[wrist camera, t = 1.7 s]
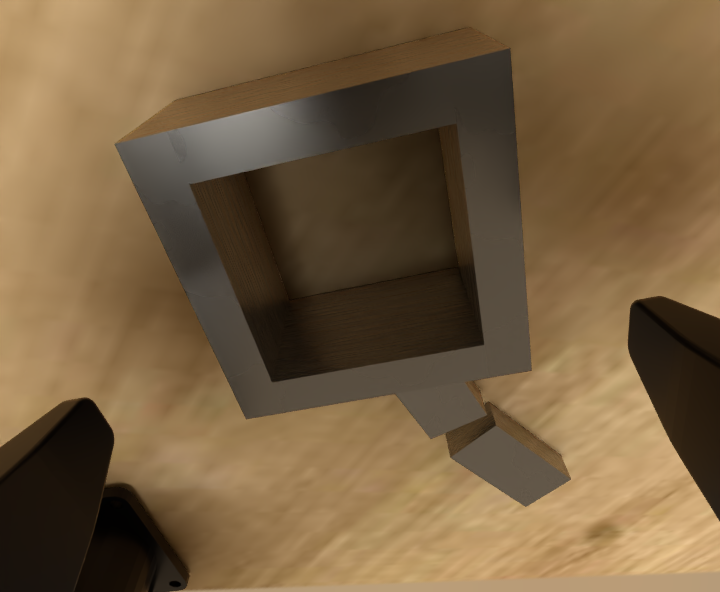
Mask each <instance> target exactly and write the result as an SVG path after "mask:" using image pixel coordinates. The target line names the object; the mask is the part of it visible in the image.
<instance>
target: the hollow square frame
mask: <svg viewBox="0 0 720 592" xmlns="http://www.w3.org/2000/svg"><path fill="white" fill-rule="evenodd" d="M434 128H438V130H439V137H440V144H441V151H442V158H443V164H444V171H445V178H446V185H447V192H448V199H449V206H450V213H451V220H452V227H453V234H454V241H455V248H456V255H457V261H458V267H457V268H451V269H446V270H441V271H436V272H431V273H426V274H421V275H416V276H411V277H406V278H400V279H395V280H390V281H385V282H380V283H375V284H370V285H365V286H360V287H355V288H349V289H344V290H339V291H334V292H329V293H324V294H319V295H314V296H309V297H304V298H298V299H293V300H289V298H288V296H287V293H286V290H285V287H284V284H283V282H282V279H281V276H280V273H279V270H278V268H277V265H276V262H275V259H274V256H273V254H272V251H271V248H270V245H269V242H268V240H267V237H266V234H265V231H264V228H263V225H262V223H261V220H260V217H259V214H258V211H257V209H256V206H255V203H254V200H253V197H252V195H251V192H250V189H249V186H248V183H247V181H246V178H245V175H244V172H246V171H250V170H255V169H259V168H263V167H268V166H272V165H277V164H281V163H285V162H290V161H294V160H299V159H303V158H307V157H312V156H316V155H320V154H325V153H329V152H334V151H338V150H342V149H347V148H351V147H355V146H360V145H364V144H369V143H373V142H377V141H382V140H386V139H391V138H395V137H399V136H404V135H408V134H412V133H417V132H421V131H426V130H430V129H434ZM115 146H116V148H117V150H118V152H119V154H120V157H121V159H122V161H123V163H124V165H125V167H126V169H127V171H128V173H129V175H130V177H131V180H132V182H133V184H134V186H135V188H136V190H137V192H138V194H139V196H140V198H141V200H142V203H143V205H144V207H145V209H146V211H147V213H148V215H149V217H150V219H151V221H152V223H153V226H154V228H155V230H156V232H157V234H158V236H159V238H160V240H161V242H162V244H163V246H164V249H165V251H166V253H167V255H168V257H169V259H170V261H171V263H172V265H173V267H174V269H175V272H176V274H177V276H178V278H179V280H180V282H181V284H182V286H183V288H184V290H185V292H186V295H187V297H188V299H189V301H190V303H191V305H192V307H193V309H194V311H195V313H196V315H197V318H198V320H199V322H200V324H201V326H202V328H203V330H204V332H205V334H206V336H207V338H208V341H209V343H210V345H211V347H212V349H213V351H214V353H215V355H216V357H217V359H218V361H219V364H220V366H221V368H222V370H223V372H224V374H225V376H226V378H227V380H228V382H229V384H230V387H231V389H232V391H233V393H234V395H235V397H236V399H237V401H238V403H239V405H240V407H241V410H242V412H243V414H244V416H245V418H246V419H250V418H256V417H262V416H268V415H274V414H280V413H286V412H291V411H297V410H303V409H309V408H315V407H321V406H327V405H332V404H338V403H344V402H350V401H356V400H362V399H368V398H374V397H379V396H385V395H391V394H397V393H403V392H409V391H415V390H421V389H426V388H432V387H438V386H444V385H450V384H456V383H462V382H467V381H473V380H479V379H485V378H491V377H497V376H503V375H509V374H514V373H520V372H526V371H532V368H531V353H530V338H529V323H528V308H527V293H526V278H525V263H524V248H523V233H522V218H521V203H520V188H519V173H518V158H517V143H516V128H515V112H514V97H513V82H512V67H511V52H510V48H509V47H507V46H505V45H503V44H501V43H499V42H497V41H496V40H494V39H492V38H490V37H488V36H486V35H484V34H482V33H480V32H478V31H477V30H475V29H473V28H471V27H468V28H464V29H460V30H456V31H452V32H448V33H444V34H440V35H436V36H432V37H428V38H424V39H420V40H416V41H412V42H408V43H404V44H400V45H396V46H392V47H388V48H384V49H380V50H376V51H372V52H368V53H364V54H360V55H356V56H352V57H347V58H343V59H339V60H335V61H331V62H327V63H323V64H319V65H315V66H311V67H307V68H303V69H299V70H295V71H291V72H287V73H283V74H279V75H275V76H271V77H267V78H263V79H259V80H255V81H251V82H247V83H243V84H239V85H235V86H231V87H227V88H223V89H219V90H215V91H211V92H207V93H203V94H199V95H195V96H191V97H187V98H183V99H179V100H175V101H173V102H172V103H171V104H169V105H168V106H166V107H165V108H164V109H162V110H161V111H159V112H158V113H157V114H155V115H154V116H153V117H151V118H150V119H148V120H147V121H146V122H144V123H143V124H141V125H140V126H139V127H137V128H136V129H135V130H133V131H132V132H130V133H129V134H128V135H126V136H125V137H123V138H122V139H121V140H119V141H118V142H117V143H115Z"/></svg>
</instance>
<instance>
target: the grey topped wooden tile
mask: <svg viewBox="0 0 720 592" xmlns="http://www.w3.org/2000/svg"><path fill="white" fill-rule="evenodd" d="M396 395H397V397H398V398H399V399H400V401H401V402H402V403H403V404H404V406H405V407H406V408H407V409H408V411H409V412H410V413H411V414H412V416H413V417H414V418H415V419H416V421H417V422H418V423H419V425H420V426H421V427H422V428H423V430H424V431H425V432H426V433H427V435H428V436H429V437H430V438H431V439H432V438H435V437H437V436H439V435H442V434H444V433H446V432H449V431H451V430H453V429H456V428H458V427H460V426H463V425H465V424H468V423H470V422H472V421H475V420H477V419H479V418H482V417H484V416H486V415H487V413H486V410H485V407H484V403H483V400H482V397H481V393H480V391H479V390H478V388H477V387H476V385H475V384H474V382H473V381H467V382H462V383H456V384H450V385H444V386H438V387H432V388H426V389H421V390H415V391H409V392H403V393H397V394H396Z"/></svg>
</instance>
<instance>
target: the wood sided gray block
mask: <svg viewBox="0 0 720 592" xmlns="http://www.w3.org/2000/svg"><path fill="white" fill-rule="evenodd" d="M484 407H485V410H486V413H487V415H486V416H484V417H482V418H479V419H477V420H475V421H472V422H470V423H468V424H465V425H463V426H460V427H458V428H456V429H453V430H451V431H449V432H446V438H447V443H448V448H449V453H450V458H452V459H453V460H455V461H456V462H458V463H459V464H461V465H462V466H464V467H466V468H467V469H469V470H470V471H472V472H473V473H475V474H476V475H478V476H479V477H481V478H482V479H484V480H485V481H487V482H488V483H490V484H492V485H493V486H495V487H496V488H498V489H499V490H501V491H502V492H504V493H505V494H507V495H508V496H510V497H511V498H513V499H515V500H516V501H518V502H519V503H521V504H522V505H524V506H525V507H526V506H528V505H530V504H531V503H533V502H535V501H536V500H538V499H540V498H541V497H543V496H545V495H546V494H548V493H550V492H551V491H553V490H554V489H556V488H558V487H559V486H561V485H563V484H564V483H566V482H568V481H569V480H571V478H570V475H569V473H568V471H567V468H566V466H565V464H564V461H563V459H562V457H561V455H560V454H559V453H557V452H556V451H554V450H553V449H552V448H550V447H549V446H548V445H546V444H545V443H544V442H542V441H541V440H540V439H538V438H537V437H536V436H534V435H533V434H532V433H530V432H529V431H528V430H526V429H525V428H523V427H522V426H521V425H519V424H518V423H517V422H515V421H514V420H513V419H511V418H510V417H509V416H507V415H506V414H505V413H503V412H502V411H501V410H499V409H498V408H497V407H495V406H494V405H492V404H491V403H490V402H488V403H486V404H485V405H484Z"/></svg>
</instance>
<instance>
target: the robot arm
mask: <svg viewBox="0 0 720 592" xmlns="http://www.w3.org/2000/svg"><path fill="white" fill-rule="evenodd" d="M628 349H629V353H630V357H631V359H632V361H633V363H634V365H635V367H636V370H637V372H638V374H639V376H640V378H641V380H642V382H643V385H644V387H645V389H646V391H647V393H648V395H649V397H650V399H651V402H652V404H653V406H654V408H655V410H656V412H657V414H658V417H659V419H660V421H661V423H662V425H663V427H664V429H665V431H666V433H667V435H668V437H669V439H670V441H671V443H672V445H673V446H674V448H675V450H676V451H677V453H678V455H679V457H680V458H681V460H682V461H683V463H684V465H685V466H686V468H687V469H688V471H689V473H690V474H691V476H692V477H693V479H694V481H695V482H696V484H697V486H698V487H699V489H700V490H701V492H702V494H703V495H704V497H705V498H706V500H707V502H708V503H709V505H710V506H711V508H712V510H713V511H714V513H715V514H716V516H717V518H718V519H719V521H720V319H719V318H717V317H714V316H712V315H709V314H707V313H704V312H702V311H699V310H696V309H694V308H691V307H689V306H686V305H684V304H681V303H679V302H676V301H674V300H671V299H668V298H666V297H663V296H656V297H651V298H645V299H639V300H636V301H634V302H633V303H632V305H631V308H630V319H629V333H628ZM113 446H114V433H113V430H112V428H111V427H110V425H109V424H108V422H107V421H106V419H105V418H104V416H103V415H102V413H101V412H100V410H99V409H98V407H97V406H96V404H95V403H94V402H93V401H92V400H91V399H89V398H78V399H72V400H67V401H64V402H62V403H60V404H59V405H58V406H56V407H55V408H53V409H52V410H51V411H49V412H48V413H47V414H45V415H44V416H42V417H41V418H40V419H38V420H37V421H36V422H34V423H33V424H32V425H30V426H29V427H27V428H26V429H25V430H23V431H22V432H21V433H19V434H18V435H16V436H15V437H14V438H12V439H11V440H10V441H8V442H7V443H6V444H4V445H3V446H1V447H0V592H170V591H178V590H183V589H185V588H186V586H187V583H188V580H189V573H188V572H187V570H186V569H185V567H184V566H183V565H182V563H181V562H180V560H179V559H178V558H177V556H176V555H175V553H174V552H173V550H172V549H171V548H170V546H169V545H168V543H167V542H166V540H165V539H164V538H163V536H162V535H161V533H160V532H159V530H158V529H157V528H156V526H155V525H154V523H153V522H152V521H151V519H150V518H149V516H148V515H147V513H146V512H145V511H144V509H143V508H142V506H141V505H140V503H139V502H138V501H137V499H136V498H135V496H134V495H133V494H132V493H131V492H130V491H129V490H127V489H125V488H121V487H114V488H107V489H104V486H105V482H106V477H107V473H108V468H109V464H110V460H111V455H112V451H113Z"/></svg>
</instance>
